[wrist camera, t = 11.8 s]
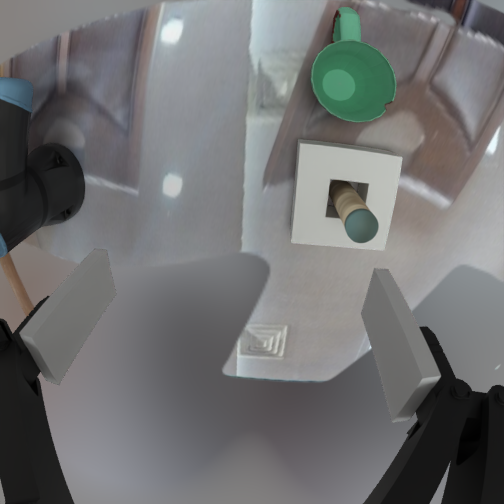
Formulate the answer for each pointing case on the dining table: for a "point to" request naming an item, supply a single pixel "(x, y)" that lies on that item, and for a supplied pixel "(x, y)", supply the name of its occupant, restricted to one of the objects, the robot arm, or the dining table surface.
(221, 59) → the dining table surface
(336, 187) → the peg
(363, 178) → the socket block
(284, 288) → the dining table surface
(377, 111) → the mug
